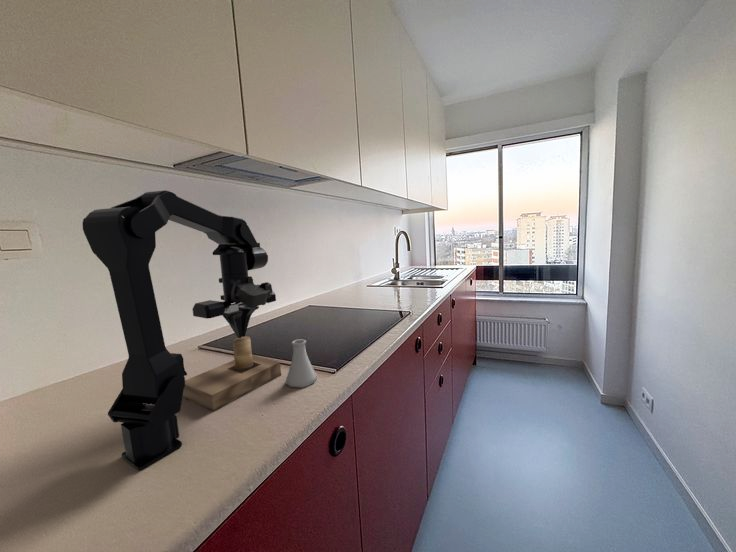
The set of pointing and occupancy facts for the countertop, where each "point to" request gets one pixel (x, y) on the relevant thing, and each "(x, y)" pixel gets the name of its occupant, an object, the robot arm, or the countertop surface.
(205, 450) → the countertop surface
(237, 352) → the oak peg
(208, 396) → the wooden peg board
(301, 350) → the flask
